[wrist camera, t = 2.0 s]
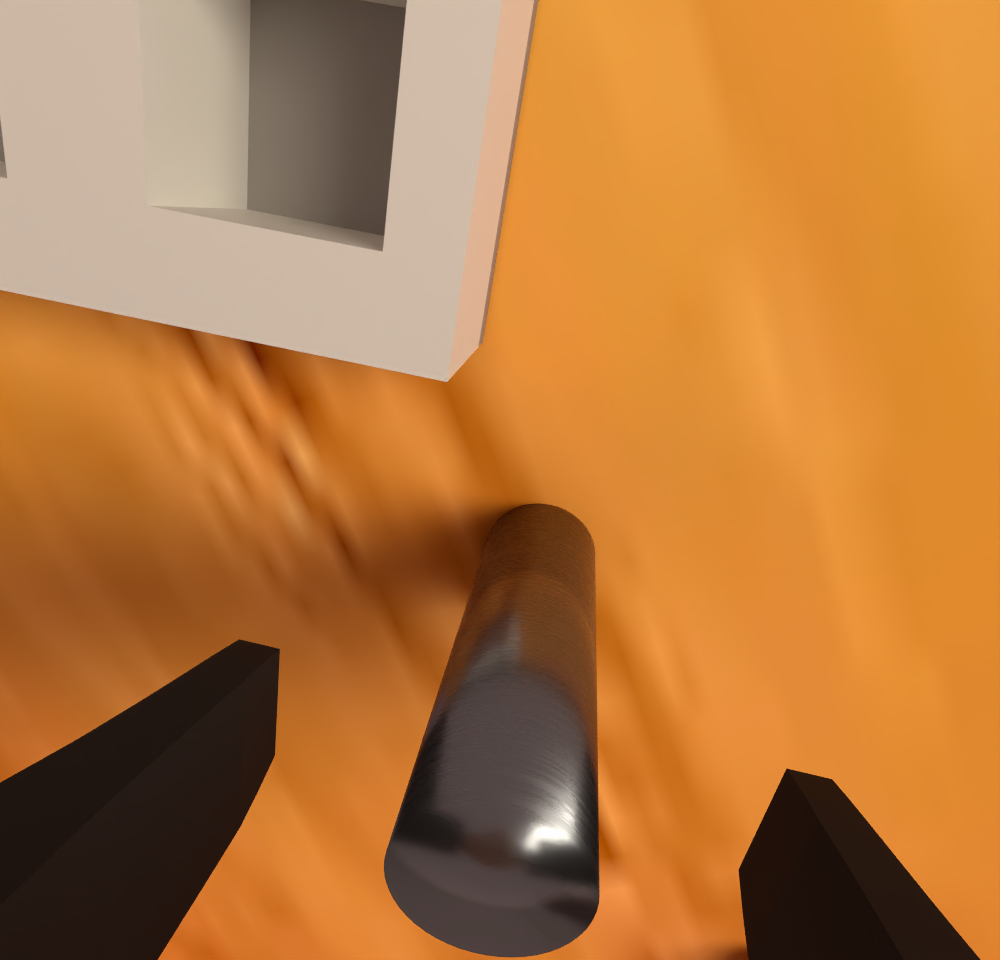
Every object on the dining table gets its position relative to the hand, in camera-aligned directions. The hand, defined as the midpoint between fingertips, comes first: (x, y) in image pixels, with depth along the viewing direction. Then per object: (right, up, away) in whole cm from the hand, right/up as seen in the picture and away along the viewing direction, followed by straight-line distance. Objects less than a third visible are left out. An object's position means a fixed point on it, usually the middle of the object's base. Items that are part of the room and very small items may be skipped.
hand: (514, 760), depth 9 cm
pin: (+1, +2, +6) cm, 6 cm away
